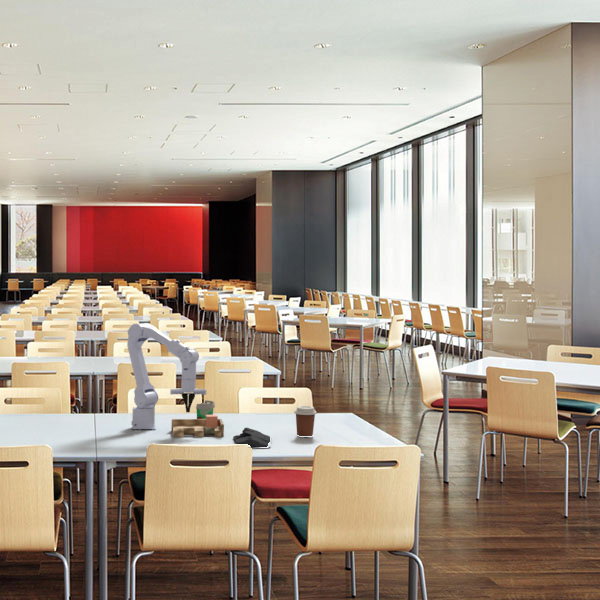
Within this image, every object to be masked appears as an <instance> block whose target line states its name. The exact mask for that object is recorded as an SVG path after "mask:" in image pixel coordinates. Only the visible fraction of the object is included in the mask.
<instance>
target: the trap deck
mask: <svg viewBox="0 0 600 600" xmlns="http://www.w3.org/2000/svg"><path fill="white" fill-rule="evenodd" d="M224 427H225V424H224V422H223V420H222V419H221V418H218V425H217V427H216V428H206V419H197V418H172V419H171V431H170V432H171V433H172V436H173V438H217V437H218V438H221V437H222V438H223V437H225V436H224V435H225V434H224V433H225V428H224Z"/></svg>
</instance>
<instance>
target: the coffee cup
mask: <svg viewBox="0 0 600 600" xmlns="http://www.w3.org/2000/svg"><path fill="white" fill-rule="evenodd" d="M293 413H294V414H295V421H296V422H295V423H296V425H295V427H296V436H297V435H299V436H312V435H313V436H314V427H315V416H316V415H317V411H316V409H315V407H314V406H310V405H299V406H297V407H296V409H294V412H293Z"/></svg>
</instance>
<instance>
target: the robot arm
mask: <svg viewBox="0 0 600 600" xmlns="http://www.w3.org/2000/svg"><path fill="white" fill-rule="evenodd" d="M127 336H128V338H127V342H126V343H127V344H126V345H127V346H126V347H127V350H128V354H129V359H130V362H131V368H132V370H133V371H132V372H133V375H134V380H135V383H136V387H135V389H134V391H133V392H134V398H133V400H134V404H135V405H136V407H132V418H131V419H132V420H131V428H132V429H152V430H156V423H155V421H156V417H155V416H156V405H157V403H158V402H159V394H158V392H157V391H156V390H155V386H154V385H153V384H152V383H151V382H150V378H149V374H148V370H147V366H146V361H145V357H144V354H143V353H144V352H143V349H142V346H143V345H144V343H145V342H146V341H148V339H153V340H155V341H157V342H158V343H160V344H162V345H164V346H165V347H166V349H167V352H169V353H170V354H172V355H173V356H175V357H176V358H178V359H179V362H180V363H181V388H171V389H170V393H169V394H170V395H181V397H182V400H183V403H184V406H185V411H186V412H185V413H190V412H191V408H192V407H191V406H192V404H193V401H194V400H195V397H196V395H205V396H206V395H207V389H205V388H204V389H200V388H196V385H197V383H196V382H197V362H198V360H199V358H200V354H199V352H198V351H197V350H196V349H195V348H190V346H188V345H185V344H183V343H182V342H181V340H180V339H171V338H170V337H168V336H167V335H165V334H164V333H163V332H161V331H160V330H159V329H158V328H157V327H156V326H155V325H152V324H151V323H149V322H145V323H133V324H131V325H130V327H129V328H128V329H127ZM132 429H131V430H132Z"/></svg>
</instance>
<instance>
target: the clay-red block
mask: <svg viewBox="0 0 600 600" xmlns="http://www.w3.org/2000/svg"><path fill="white" fill-rule="evenodd" d="M218 419H219V417H218V415H217V414H213V415H206V428H216V427H217V425H218Z"/></svg>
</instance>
